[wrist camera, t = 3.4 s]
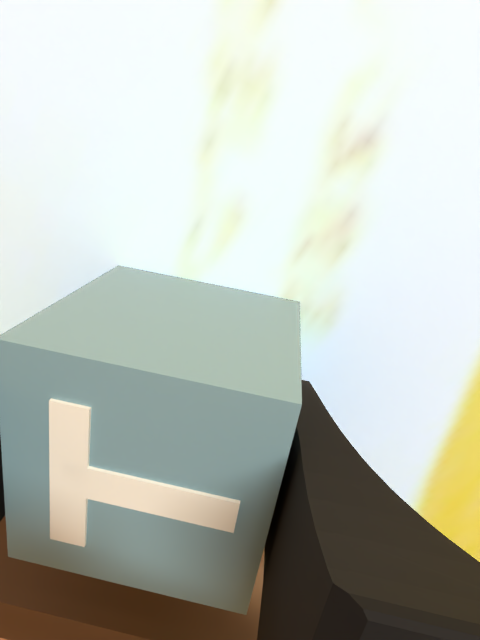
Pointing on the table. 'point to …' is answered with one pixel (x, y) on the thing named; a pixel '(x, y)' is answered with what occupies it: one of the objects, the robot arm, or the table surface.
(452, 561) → the robot arm
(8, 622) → the walnut plank
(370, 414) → the table surface
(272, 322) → the lettered cube
